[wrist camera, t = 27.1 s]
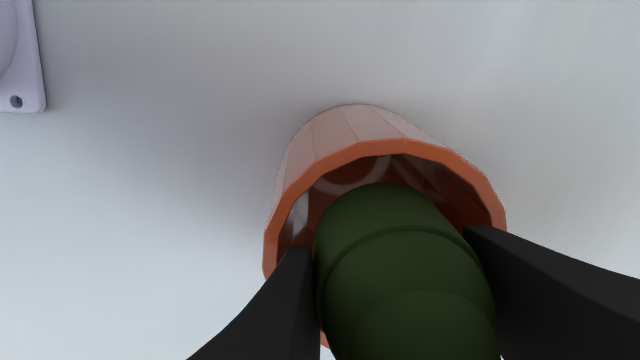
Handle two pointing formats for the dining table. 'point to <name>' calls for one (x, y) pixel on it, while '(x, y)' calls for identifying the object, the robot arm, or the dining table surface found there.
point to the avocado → (399, 280)
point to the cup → (368, 175)
